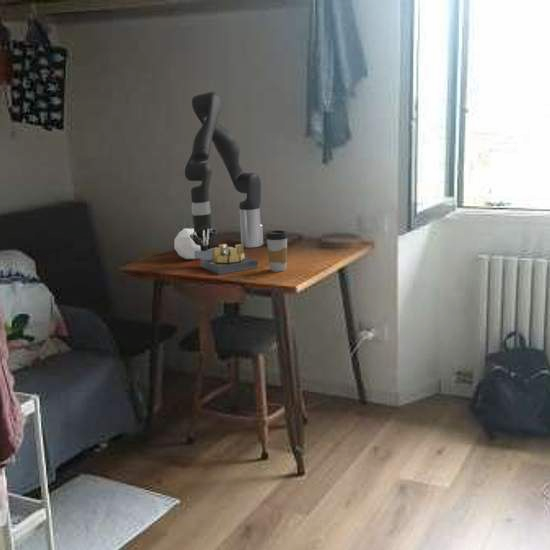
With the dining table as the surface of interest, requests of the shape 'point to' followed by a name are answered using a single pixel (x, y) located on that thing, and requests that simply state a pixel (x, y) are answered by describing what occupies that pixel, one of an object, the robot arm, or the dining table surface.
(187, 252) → the geodesic sphere
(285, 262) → the coffee cup
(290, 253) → the dining table surface
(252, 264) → the housing
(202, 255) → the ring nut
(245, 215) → the robot arm
